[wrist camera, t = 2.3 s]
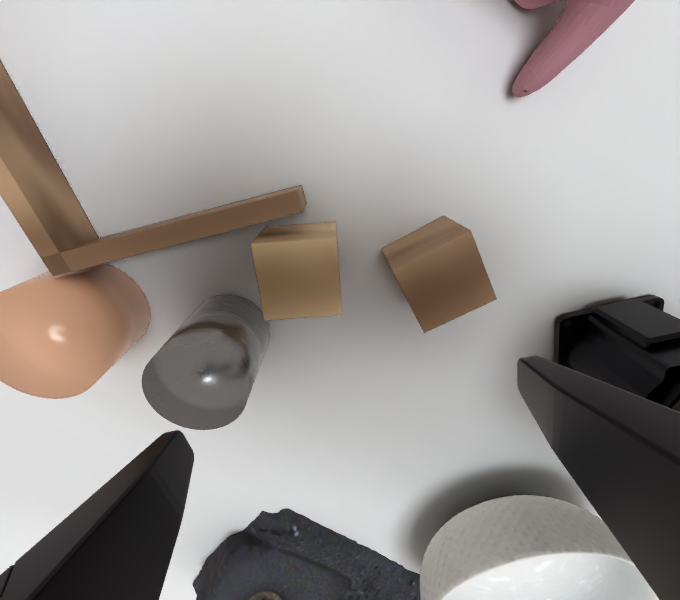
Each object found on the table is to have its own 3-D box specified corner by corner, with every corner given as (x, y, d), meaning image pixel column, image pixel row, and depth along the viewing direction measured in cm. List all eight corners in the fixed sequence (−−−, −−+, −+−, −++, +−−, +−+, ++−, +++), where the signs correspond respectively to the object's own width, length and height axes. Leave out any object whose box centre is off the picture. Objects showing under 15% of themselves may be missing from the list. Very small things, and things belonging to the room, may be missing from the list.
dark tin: (280, 352, 22) (262, 418, 17) (211, 369, 23) (171, 438, 17) (253, 286, 20) (222, 335, 15) (178, 306, 21) (121, 360, 15)
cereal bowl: (442, 446, 26) (478, 541, 20) (625, 472, 28) (712, 566, 22) (385, 568, 33) (399, 669, 27) (537, 583, 35) (583, 680, 29)
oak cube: (340, 286, 21) (342, 315, 17) (275, 290, 21) (264, 320, 17) (335, 221, 19) (336, 238, 15) (266, 226, 19) (250, 244, 15)
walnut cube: (467, 272, 20) (496, 299, 17) (407, 301, 21) (424, 333, 18) (443, 215, 19) (470, 230, 15) (380, 248, 20) (392, 270, 16)
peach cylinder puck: (166, 336, 22) (123, 385, 17) (81, 355, 22) (17, 408, 17) (122, 249, 19) (57, 279, 15) (27, 272, 20) (-64, 308, 15)
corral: (306, 203, 18) (302, 212, 16) (91, 258, 19) (52, 276, 17) (183, -241, 12) (139, -357, 9) (-130, -125, 13) (-254, -200, 10)
